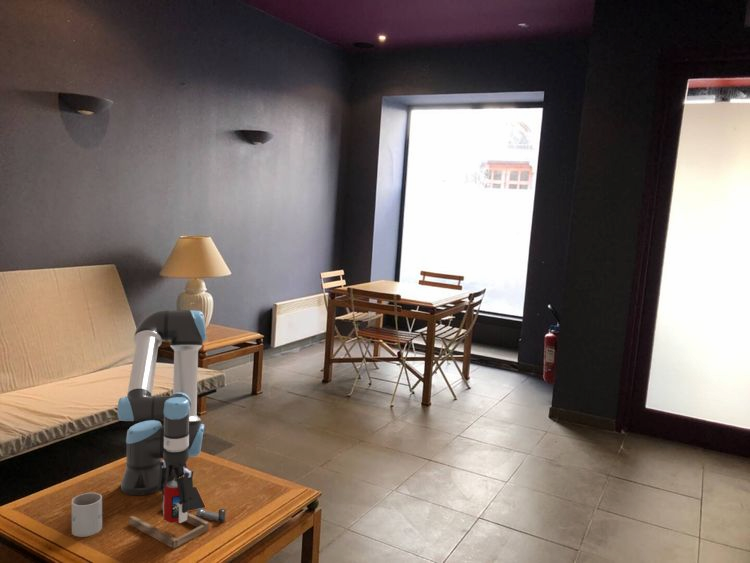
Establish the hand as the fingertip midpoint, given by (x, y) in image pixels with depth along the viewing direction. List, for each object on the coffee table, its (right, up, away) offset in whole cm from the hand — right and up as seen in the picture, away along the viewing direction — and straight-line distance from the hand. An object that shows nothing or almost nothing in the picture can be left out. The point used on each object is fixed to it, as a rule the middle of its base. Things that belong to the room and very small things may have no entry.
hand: (175, 517), depth 186 cm
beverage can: (0, -1, 0) cm, 1 cm away
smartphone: (-2, -3, +21) cm, 21 cm away
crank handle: (+9, -4, +9) cm, 13 cm away
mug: (-28, -3, +1) cm, 28 cm away
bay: (-3, -4, +2) cm, 5 cm away
